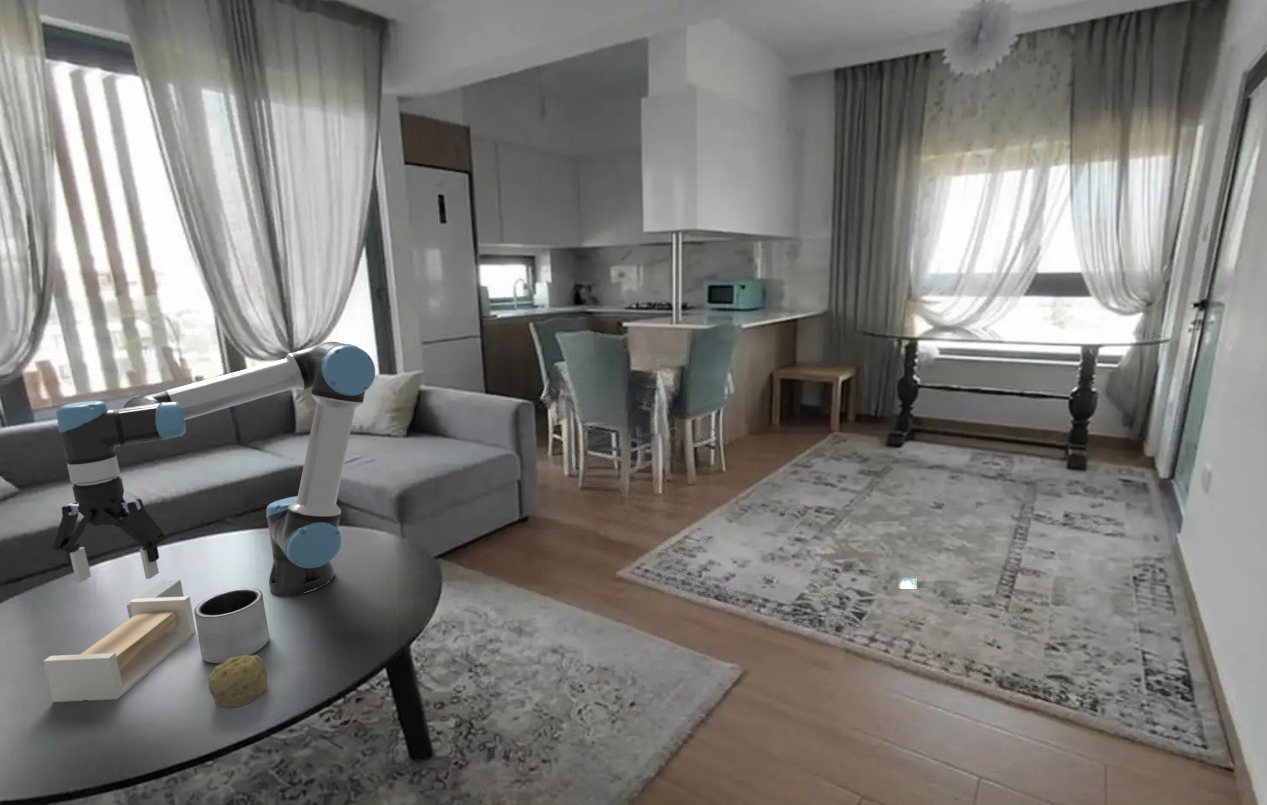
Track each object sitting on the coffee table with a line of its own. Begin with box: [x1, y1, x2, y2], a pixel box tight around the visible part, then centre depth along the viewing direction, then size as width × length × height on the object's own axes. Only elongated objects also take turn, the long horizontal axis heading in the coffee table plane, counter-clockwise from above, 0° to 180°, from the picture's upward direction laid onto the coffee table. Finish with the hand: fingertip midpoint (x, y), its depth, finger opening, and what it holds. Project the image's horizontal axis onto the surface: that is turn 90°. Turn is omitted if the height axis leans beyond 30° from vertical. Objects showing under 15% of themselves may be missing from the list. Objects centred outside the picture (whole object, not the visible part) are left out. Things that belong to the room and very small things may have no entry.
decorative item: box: [208, 654, 269, 709], centre depth 119 cm, size 10×10×10 cm
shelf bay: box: [43, 595, 197, 703], centre depth 130 cm, size 12×23×9 cm, turn 2°
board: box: [79, 612, 177, 670], centre depth 130 cm, size 8×18×3 cm, turn 2°
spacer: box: [126, 579, 185, 620], centre depth 151 cm, size 4×12×5 cm, turn 2°
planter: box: [194, 587, 270, 665], centre depth 134 cm, size 13×12×11 cm
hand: (118, 577), depth 128 cm, fingers open, 13 cm apart
